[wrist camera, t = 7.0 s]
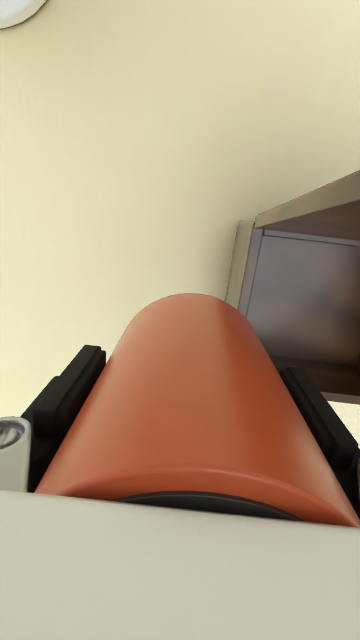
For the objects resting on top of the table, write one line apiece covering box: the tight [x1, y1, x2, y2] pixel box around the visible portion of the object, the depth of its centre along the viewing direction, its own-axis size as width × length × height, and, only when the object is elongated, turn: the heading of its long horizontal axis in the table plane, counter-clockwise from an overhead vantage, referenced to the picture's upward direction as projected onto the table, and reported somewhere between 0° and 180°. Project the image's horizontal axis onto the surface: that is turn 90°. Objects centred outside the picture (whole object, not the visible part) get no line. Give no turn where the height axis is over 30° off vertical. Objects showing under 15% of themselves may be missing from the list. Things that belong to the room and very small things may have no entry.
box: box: [225, 221, 360, 405], centre depth 25 cm, size 13×15×7 cm
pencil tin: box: [34, 293, 360, 528], centre depth 9 cm, size 6×6×9 cm
